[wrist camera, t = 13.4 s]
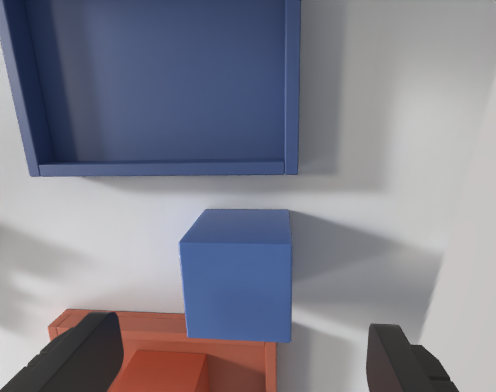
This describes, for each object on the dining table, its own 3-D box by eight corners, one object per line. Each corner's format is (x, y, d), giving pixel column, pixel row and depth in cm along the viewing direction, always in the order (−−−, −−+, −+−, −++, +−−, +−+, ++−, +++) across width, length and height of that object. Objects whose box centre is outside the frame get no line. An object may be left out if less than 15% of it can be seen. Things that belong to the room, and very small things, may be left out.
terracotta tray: (90, 420, 21) (74, 446, 19) (66, 308, 19) (46, 327, 17) (277, 436, 20) (276, 465, 18) (276, 317, 17) (276, 338, 16)
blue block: (209, 282, 17) (186, 338, 13) (205, 208, 16) (177, 242, 12) (288, 285, 17) (291, 344, 12) (288, 209, 15) (292, 244, 11)
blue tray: (54, 170, 16) (29, 176, 15) (16, -21, 14) (-19, -40, 12) (296, 168, 15) (298, 174, 13) (299, -46, 13) (302, -70, 11)
